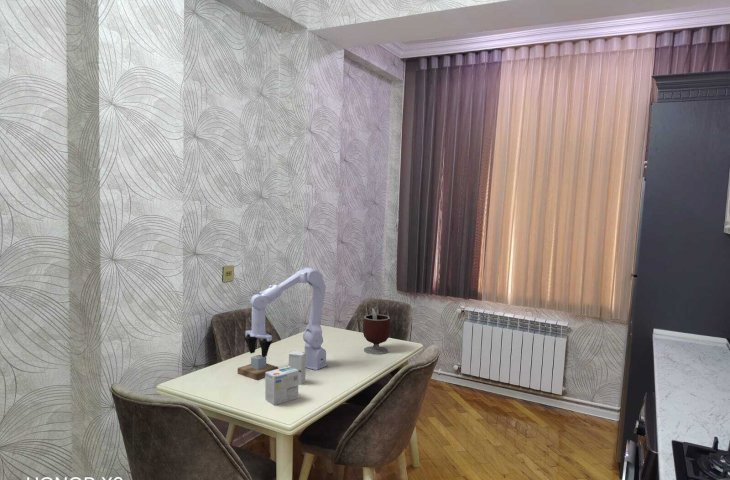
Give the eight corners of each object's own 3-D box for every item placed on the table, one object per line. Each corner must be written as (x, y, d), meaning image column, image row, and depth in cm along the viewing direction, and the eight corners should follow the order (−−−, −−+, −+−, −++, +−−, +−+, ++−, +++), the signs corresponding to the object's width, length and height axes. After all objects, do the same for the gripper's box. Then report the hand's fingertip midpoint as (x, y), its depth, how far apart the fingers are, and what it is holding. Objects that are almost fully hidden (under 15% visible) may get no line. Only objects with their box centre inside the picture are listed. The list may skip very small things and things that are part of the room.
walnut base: (278, 373, 204) (278, 366, 204) (256, 381, 194) (256, 374, 194) (259, 367, 211) (259, 361, 211) (237, 375, 201) (237, 368, 201)
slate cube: (266, 367, 203) (266, 356, 203) (258, 369, 199) (258, 359, 199) (259, 364, 206) (259, 354, 205) (251, 367, 202) (251, 357, 202)
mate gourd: (393, 354, 234) (394, 314, 232) (366, 355, 230) (367, 314, 229) (384, 345, 249) (385, 307, 247) (358, 346, 245) (359, 308, 244)
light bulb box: (288, 393, 182) (289, 365, 181) (299, 398, 177) (299, 369, 176) (264, 400, 174) (264, 371, 174) (274, 405, 169) (274, 376, 169)
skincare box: (287, 383, 192) (287, 353, 191) (292, 379, 196) (292, 350, 195) (301, 385, 190) (301, 355, 189) (306, 381, 194) (306, 352, 193)
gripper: (239, 322, 202) (239, 353, 203) (262, 327, 194) (262, 360, 194) (252, 319, 208) (252, 349, 209) (275, 324, 199) (275, 356, 200)
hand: (258, 354), depth 202 cm, fingers open, 7 cm apart
